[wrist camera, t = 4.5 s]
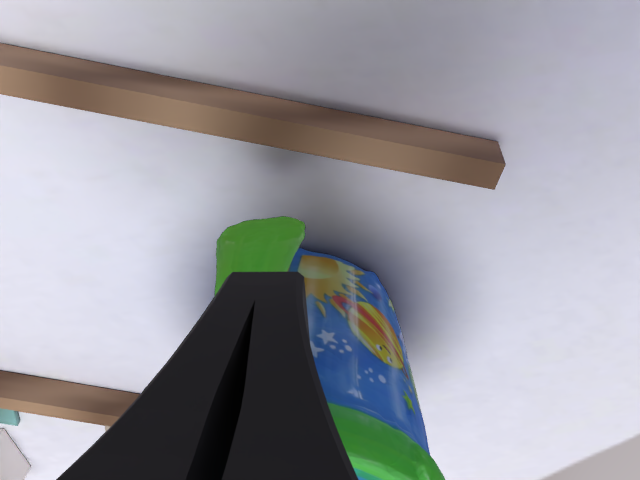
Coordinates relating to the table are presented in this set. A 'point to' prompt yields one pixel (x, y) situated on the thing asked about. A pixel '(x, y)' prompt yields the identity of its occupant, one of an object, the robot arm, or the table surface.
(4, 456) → the die
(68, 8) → the table surface
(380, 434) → the snack cup
